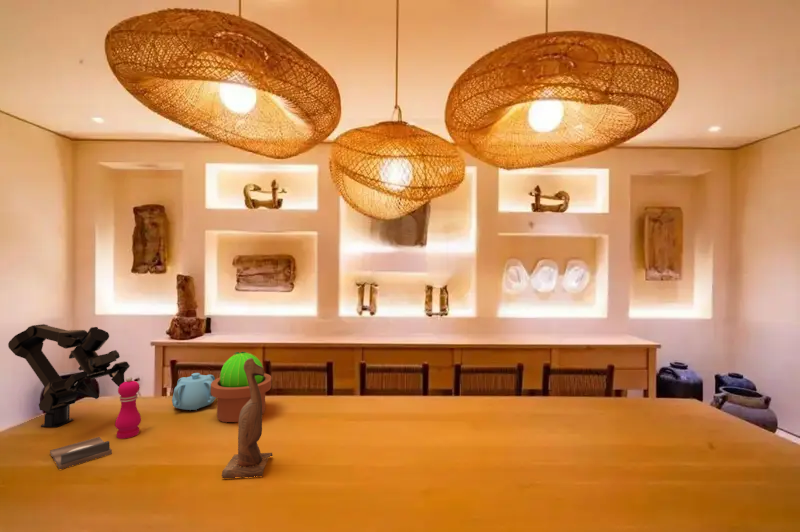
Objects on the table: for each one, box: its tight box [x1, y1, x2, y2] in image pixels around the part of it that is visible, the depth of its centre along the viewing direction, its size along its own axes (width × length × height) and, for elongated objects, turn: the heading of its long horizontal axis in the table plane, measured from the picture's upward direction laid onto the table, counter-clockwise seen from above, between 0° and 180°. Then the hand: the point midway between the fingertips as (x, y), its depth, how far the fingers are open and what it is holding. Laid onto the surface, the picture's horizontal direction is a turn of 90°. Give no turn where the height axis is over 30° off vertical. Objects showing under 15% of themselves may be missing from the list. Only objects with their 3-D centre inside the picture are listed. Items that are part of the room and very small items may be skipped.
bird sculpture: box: [221, 358, 274, 479], centre depth 107 cm, size 11×12×32 cm
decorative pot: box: [171, 372, 217, 411], centre depth 154 cm, size 16×16×14 cm
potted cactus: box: [211, 351, 272, 423], centre depth 146 cm, size 22×22×25 cm
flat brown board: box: [49, 436, 113, 470], centre depth 114 cm, size 14×12×4 cm
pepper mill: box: [114, 376, 142, 440], centre depth 127 cm, size 7×7×20 cm
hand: (111, 393), depth 129 cm, fingers open, 9 cm apart
